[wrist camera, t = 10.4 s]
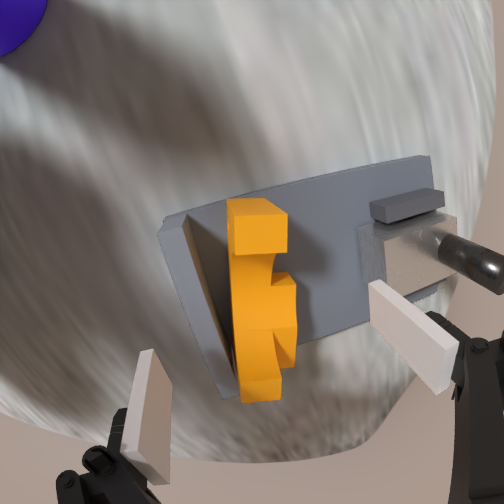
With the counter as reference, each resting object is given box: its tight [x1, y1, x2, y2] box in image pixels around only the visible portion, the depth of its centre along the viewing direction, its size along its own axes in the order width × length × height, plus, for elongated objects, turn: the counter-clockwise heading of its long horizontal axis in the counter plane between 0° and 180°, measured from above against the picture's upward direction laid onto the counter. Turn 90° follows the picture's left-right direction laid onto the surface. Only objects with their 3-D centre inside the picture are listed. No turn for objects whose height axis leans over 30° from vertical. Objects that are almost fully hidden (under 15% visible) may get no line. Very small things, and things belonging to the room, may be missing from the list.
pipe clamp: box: [226, 198, 297, 404], centre depth 19 cm, size 12×4×6 cm, turn 1°
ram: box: [357, 210, 504, 296], centre depth 18 cm, size 7×5×10 cm, turn 104°
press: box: [157, 155, 446, 399], centre depth 22 cm, size 22×13×6 cm, turn 104°
